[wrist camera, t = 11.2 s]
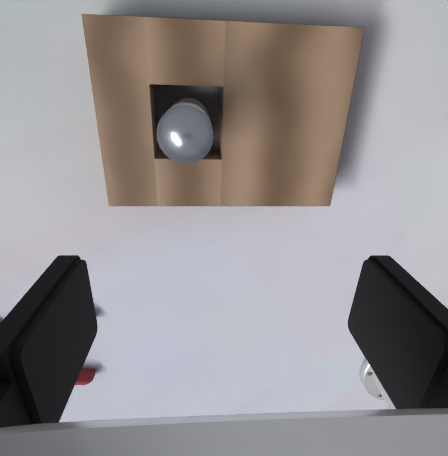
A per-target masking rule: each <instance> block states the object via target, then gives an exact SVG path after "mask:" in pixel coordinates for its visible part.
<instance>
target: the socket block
mask: <svg viewBox="0 0 448 456" xmlns="http://www.w3.org/2000/svg"><path fill="white" fill-rule="evenodd" d="M82 20H83V27H84V34H85V41H86V48H87V55H88V62H89V69H90V76H91V83H92V90H93V97H94V104H95V111H96V118H97V125H98V132H99V139H100V146H101V153H102V160H103V167H104V174H105V181H106V188H107V195H108V202H109V206H330V204H331V199H332V194H333V189H334V183H335V178H336V173H337V168H338V163H339V158H340V152H341V147H342V142H343V137H344V132H345V127H346V121H347V116H348V111H349V106H350V101H351V95H352V90H353V85H354V80H355V75H356V70H357V64H358V59H359V54H360V49H361V44H362V38H363V33H364V28H362V27H341V26H321V25H300V24H280V23H259V22H238V21H218V20H197V19H177V18H156V17H136V16H115V15H94V14H82ZM155 84H159V85H191V86H221V98H220V142H219V151H209V152H208V154H207V155H206V156H205V157H204V158H202V159H201V160H199V161H197V162H195V163H190V164H182V163H178V162H175V161H173V160H171V159H170V158H168V157H167V156H166V155H165V154H164V153H163V151H162V150H159V144H158V141H157V126H158V122H157V105H156V89H155Z"/></svg>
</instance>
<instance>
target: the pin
mask: <svg viewBox="0 0 448 456" xmlns="http://www.w3.org/2000/svg"><path fill="white" fill-rule="evenodd" d="M213 138H214V134H213V128H212V124H211V121H210V117H209V114H208V111H207V109H206V107H205V106H204V104H203V103H201V102H200V101H199V100H197V99H194V98H183V99H180V100H178V101H177V102H176V103H175V104H174V105H173V106H172V107H171V108H170V109H168V110H167V111H166V112H165V113H164V115H163V116H162V117H161V119H160V121H159V123H158V126H157V141H158V144H159V146H160V148H161V150H162V151H163V153H164V154H165V155H166V156H167V157H168V158H170V159H171V160H173V161H175V162H178V163H182V164H190V163H195V162H197V161H199V160H201V159H202V158H204V157H205V156H206V155H207V154H208V152H209V151H210V149H211V147H212V144H213Z"/></svg>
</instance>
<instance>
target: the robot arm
mask: <svg viewBox="0 0 448 456" xmlns="http://www.w3.org/2000/svg"><path fill="white" fill-rule="evenodd" d="M348 328H349V331H350V333H351V334H352V336H353V338H354V339H355V341H356V343H357V344H358V346H359V348H360V349H361V351H362V353H363V354H364V356H365V358H366V361H365V362H364V364H363V367H362V369H361V375H360V376H361V381H362V383H363V385H364V387H365V389H366V391H367V392H368V393H369V394H370V395H372V396H373V397H375V398H377V399H381V400H385V402H386V404H387V405H388V407H389V409H386V410H353V411H321V412H292V413H264V414H237V415H210V416H186V417H162V418H138V419H115V420H95V421H78V422H61V423H59V420H60V418H61V416H62V413H63V411H64V409H65V406H66V404H67V402H68V399H69V397H70V395H71V392H72V390H73V388H74V385H75V383H76V381H77V378H78V376H79V374H80V371H81V369H82V367H83V364H84V362H85V360H86V357H87V355H88V353H89V350H90V348H91V346H92V343H93V341H94V339H95V336H96V333H97V320H96V314H95V309H94V303H93V298H92V292H91V286H90V281H89V275H88V270H87V264H86V261H85V260H81V259H80V257H79V256H58V257H57V258H56V259H55V260H54V261H53V262H52V263H51V265H50V266H49V267H48V268H47V269H46V271H45V272H44V273H43V274H42V275H41V276H40V278H39V279H38V280H37V281H36V282H35V283H34V285H33V286H32V287H31V288H30V289H29V290H28V292H27V293H26V294H25V295H24V296H23V298H22V299H21V300H20V301H19V302H18V303H17V305H16V306H15V307H14V308H13V309H12V310H11V312H10V313H9V314H8V315H7V316H6V317H5V319H4V320H3V321H2V322H1V323H0V456H448V309H447V308H446V307H445V306H444V305H443V304H442V303H441V302H439V301H438V300H437V299H436V298H435V297H434V296H433V295H432V294H431V293H430V292H429V291H427V290H426V289H425V288H424V287H423V286H422V285H421V284H420V283H419V282H418V281H417V280H415V279H414V278H413V277H412V276H411V275H410V274H409V273H408V272H407V271H406V270H405V269H403V268H402V267H401V266H400V265H399V264H398V263H397V262H396V261H395V260H394V259H393V258H391V257H390V256H370V257H369V258H368V260H365V261H364V263H363V266H362V269H361V273H360V277H359V281H358V285H357V288H356V292H355V296H354V300H353V304H352V307H351V311H350V315H349V319H348Z"/></svg>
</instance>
